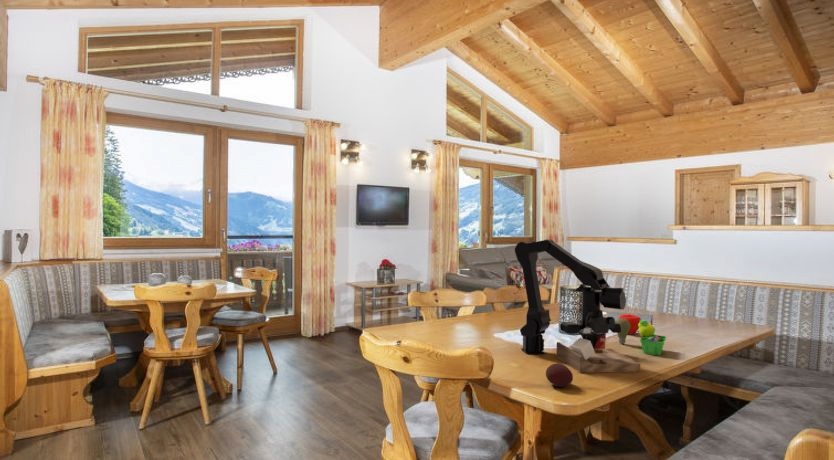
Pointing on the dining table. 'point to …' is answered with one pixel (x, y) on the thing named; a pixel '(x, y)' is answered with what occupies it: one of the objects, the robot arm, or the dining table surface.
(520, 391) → the dining table surface
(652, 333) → the fruit basket
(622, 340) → the light bulb
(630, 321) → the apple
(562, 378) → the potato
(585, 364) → the trap board
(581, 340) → the block
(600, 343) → the paper cup
